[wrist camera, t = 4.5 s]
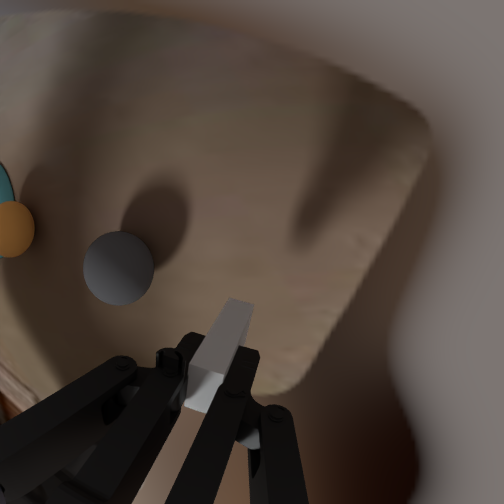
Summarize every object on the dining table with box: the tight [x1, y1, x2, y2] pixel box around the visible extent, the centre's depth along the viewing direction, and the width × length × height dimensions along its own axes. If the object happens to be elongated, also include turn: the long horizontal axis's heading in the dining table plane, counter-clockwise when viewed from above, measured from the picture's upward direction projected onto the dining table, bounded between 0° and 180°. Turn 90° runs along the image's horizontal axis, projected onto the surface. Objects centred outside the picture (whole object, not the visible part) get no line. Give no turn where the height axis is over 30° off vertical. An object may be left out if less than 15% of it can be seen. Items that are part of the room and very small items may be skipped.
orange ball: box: [0, 201, 35, 258], centre depth 23 cm, size 6×6×6 cm
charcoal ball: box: [83, 231, 154, 305], centre depth 22 cm, size 6×6×6 cm
